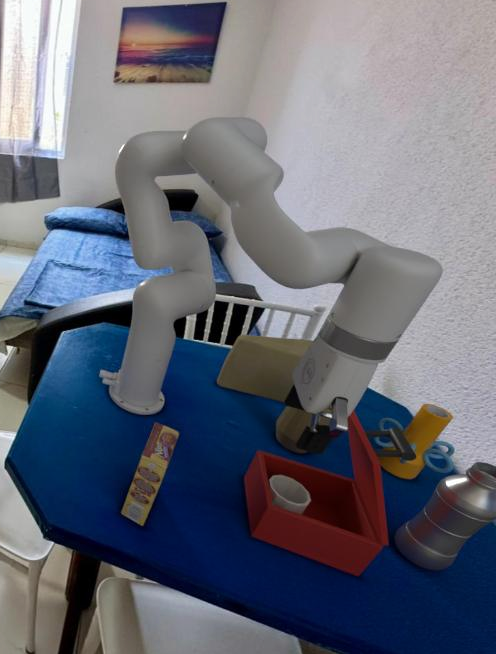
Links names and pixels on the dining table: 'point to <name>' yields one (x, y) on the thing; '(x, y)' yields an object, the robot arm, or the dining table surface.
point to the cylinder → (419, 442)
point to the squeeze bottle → (295, 426)
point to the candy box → (150, 473)
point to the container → (288, 494)
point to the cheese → (262, 365)
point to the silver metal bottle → (450, 518)
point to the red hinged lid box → (312, 515)
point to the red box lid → (374, 468)
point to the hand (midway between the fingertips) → (300, 427)
